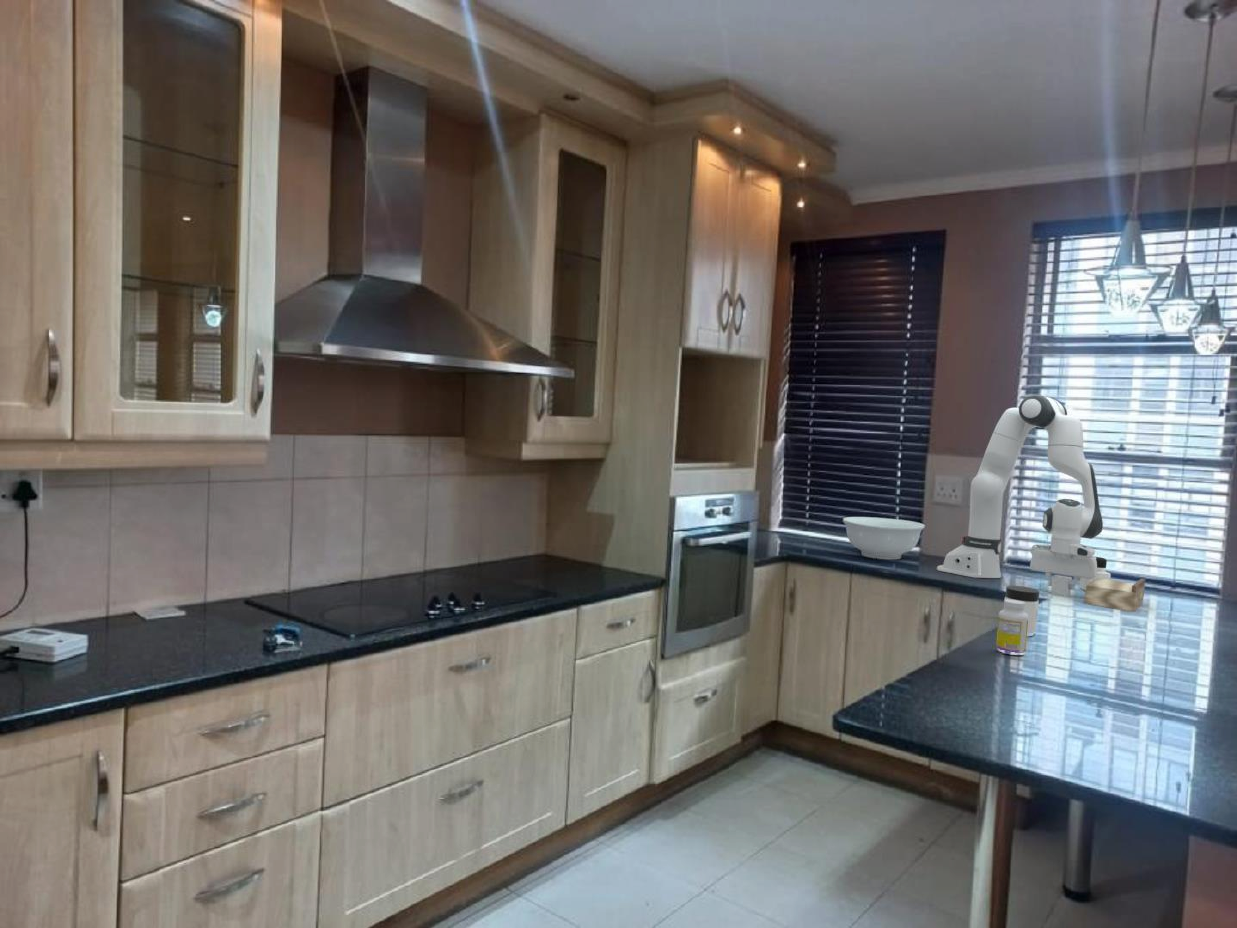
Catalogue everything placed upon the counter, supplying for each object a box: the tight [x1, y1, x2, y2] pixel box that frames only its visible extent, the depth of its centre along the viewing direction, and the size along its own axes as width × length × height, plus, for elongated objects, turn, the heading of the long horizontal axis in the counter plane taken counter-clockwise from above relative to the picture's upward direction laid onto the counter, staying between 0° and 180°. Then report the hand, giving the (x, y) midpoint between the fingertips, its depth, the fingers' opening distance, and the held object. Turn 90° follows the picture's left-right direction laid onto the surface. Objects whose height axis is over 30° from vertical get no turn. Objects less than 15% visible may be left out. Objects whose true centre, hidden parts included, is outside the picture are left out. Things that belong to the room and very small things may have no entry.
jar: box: [1003, 585, 1040, 633], centre depth 231 cm, size 9×8×12 cm
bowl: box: [842, 516, 926, 561], centre depth 350 cm, size 32×32×15 cm
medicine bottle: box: [1079, 556, 1112, 592], centre depth 301 cm, size 7×7×12 cm
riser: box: [1083, 578, 1146, 613], centre depth 281 cm, size 14×20×8 cm
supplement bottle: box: [995, 599, 1028, 653], centre depth 209 cm, size 7×7×13 cm
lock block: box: [1050, 574, 1073, 597], centre depth 291 cm, size 5×5×6 cm
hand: (1061, 587), depth 291 cm, fingers closed on lock block, 5 cm apart
